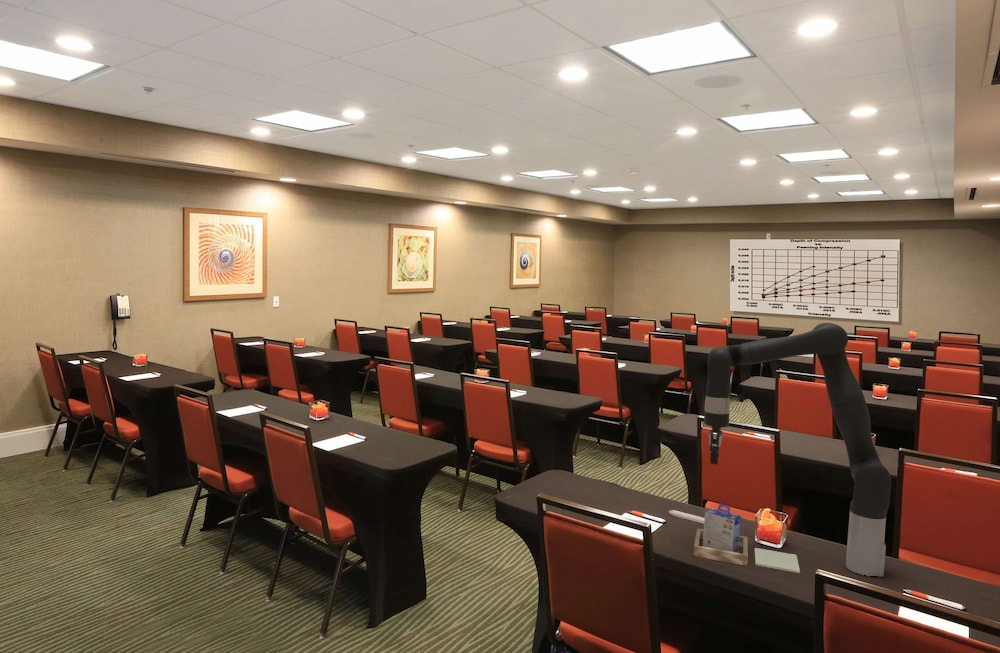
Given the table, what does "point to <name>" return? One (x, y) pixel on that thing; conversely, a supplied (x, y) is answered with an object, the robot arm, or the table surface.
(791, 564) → the sage pad
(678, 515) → the marker
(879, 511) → the robot arm
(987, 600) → the table surface
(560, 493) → the table surface
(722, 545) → the ink cartridge box
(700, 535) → the maple sleeve
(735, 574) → the table surface
